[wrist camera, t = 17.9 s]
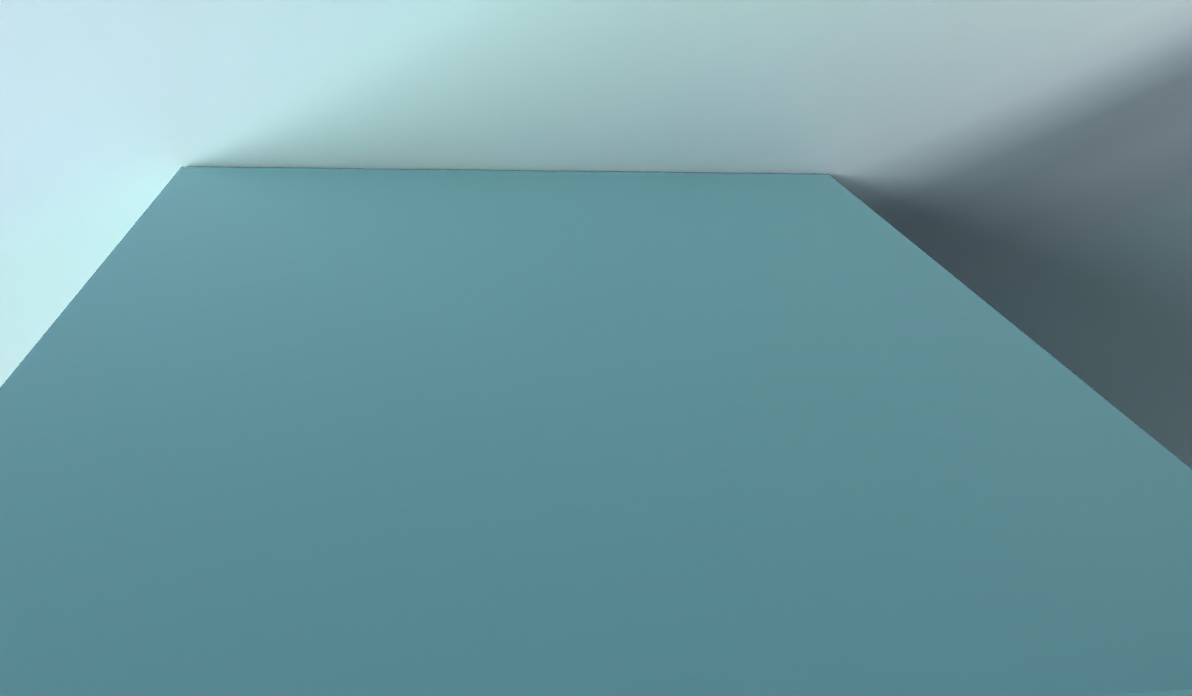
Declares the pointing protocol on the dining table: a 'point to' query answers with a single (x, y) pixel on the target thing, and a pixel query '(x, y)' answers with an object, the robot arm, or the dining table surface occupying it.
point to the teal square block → (567, 456)
